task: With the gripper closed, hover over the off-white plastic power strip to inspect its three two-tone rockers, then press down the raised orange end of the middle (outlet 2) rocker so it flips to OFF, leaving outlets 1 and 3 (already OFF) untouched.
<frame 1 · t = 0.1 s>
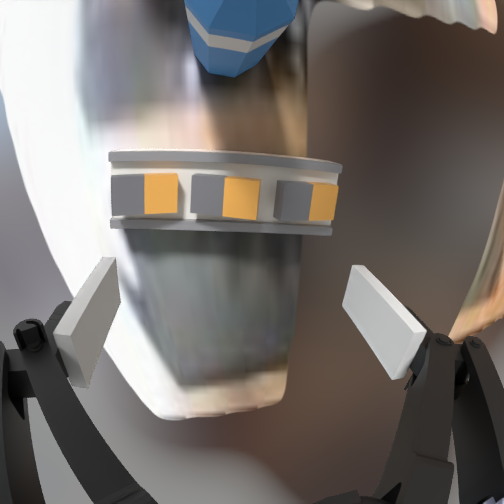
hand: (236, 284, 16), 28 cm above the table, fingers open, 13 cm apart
power strip: (223, 185, 42), on the table
water bottle: (228, 47, 34), on the table
rocker 2: (225, 195, 36), point 6 cm above the table, hinge at 15.0°
rocker 3: (306, 200, 37), point 6 cm above the table, hinge at -15.0°
rocker 1: (143, 193, 34), point 6 cm above the table, hinge at -15.0°
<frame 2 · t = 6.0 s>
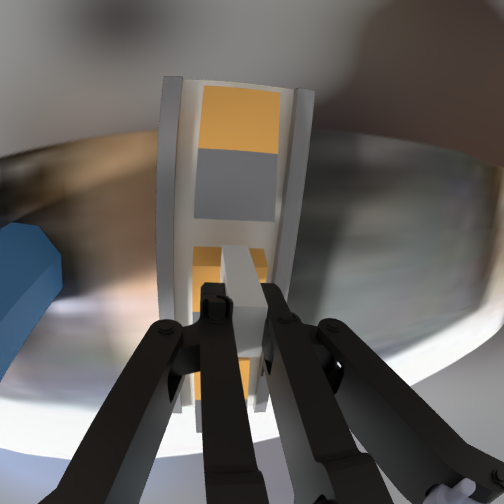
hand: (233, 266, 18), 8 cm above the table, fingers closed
power strip: (220, 263, 27), on the table
water bottle: (28, 263, 24), on the table
rocker 2: (225, 301, 21), point 6 cm above the table, hinge at 14.0°, touching gripper
rocker 3: (236, 153, 18), point 6 cm above the table, hinge at -15.0°
rocker 1: (220, 393, 25), point 6 cm above the table, hinge at -15.0°
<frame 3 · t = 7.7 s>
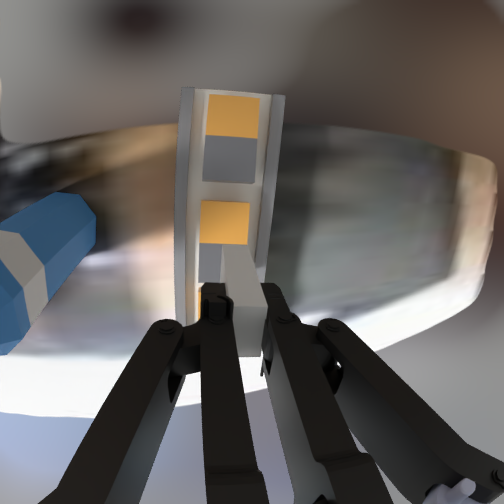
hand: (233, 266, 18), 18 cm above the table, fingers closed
power strip: (220, 222, 36), on the table
water bottle: (67, 225, 33), on the table
rocker 2: (222, 241, 30), point 6 cm above the table, hinge at -9.7°
rocker 3: (230, 139, 26), point 6 cm above the table, hinge at -15.0°
rocker 1: (218, 323, 34), point 6 cm above the table, hinge at -15.0°
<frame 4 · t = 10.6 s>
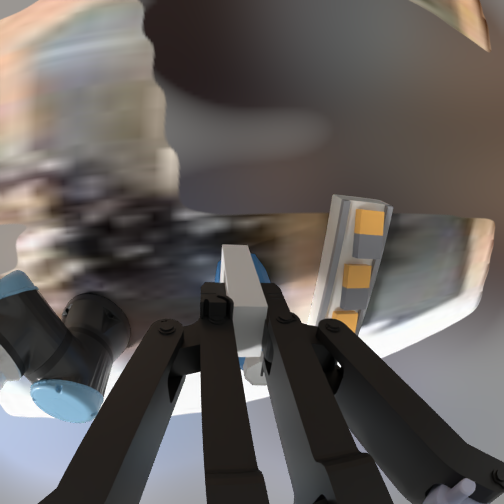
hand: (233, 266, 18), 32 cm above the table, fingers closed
power strip: (341, 271, 58), on the table
water bottle: (239, 273, 55), on the table
rocker 2: (355, 286, 52), point 6 cm above the table, hinge at -16.0°
rocker 3: (368, 234, 48), point 6 cm above the table, hinge at -15.0°
rocker 1: (342, 331, 56), point 6 cm above the table, hinge at -15.0°
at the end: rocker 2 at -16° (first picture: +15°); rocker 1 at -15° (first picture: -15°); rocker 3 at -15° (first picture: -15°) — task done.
